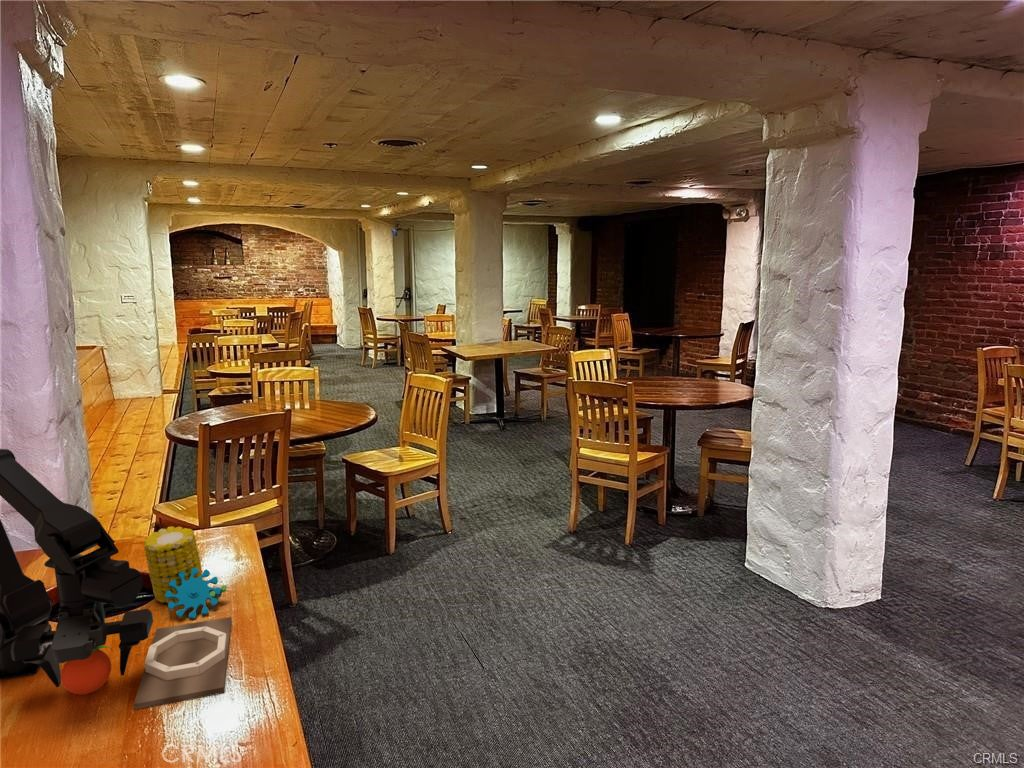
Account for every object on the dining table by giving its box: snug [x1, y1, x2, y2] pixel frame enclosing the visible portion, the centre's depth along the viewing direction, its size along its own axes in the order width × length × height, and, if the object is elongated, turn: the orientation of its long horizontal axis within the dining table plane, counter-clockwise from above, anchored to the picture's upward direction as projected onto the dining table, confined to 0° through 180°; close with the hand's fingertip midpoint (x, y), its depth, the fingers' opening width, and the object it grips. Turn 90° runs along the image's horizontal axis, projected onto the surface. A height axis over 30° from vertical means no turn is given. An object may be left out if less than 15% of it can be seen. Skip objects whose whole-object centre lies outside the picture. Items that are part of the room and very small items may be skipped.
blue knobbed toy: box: [165, 568, 228, 620], centre depth 134 cm, size 11×6×10 cm
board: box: [133, 616, 233, 711], centre depth 117 cm, size 13×22×1 cm, turn 19°
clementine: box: [61, 645, 113, 695], centre depth 109 cm, size 8×7×7 cm
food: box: [143, 525, 205, 604], centre depth 137 cm, size 15×12×10 cm
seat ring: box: [144, 626, 227, 680], centre depth 117 cm, size 12×12×2 cm
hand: (91, 679), depth 109 cm, fingers open, 9 cm apart
